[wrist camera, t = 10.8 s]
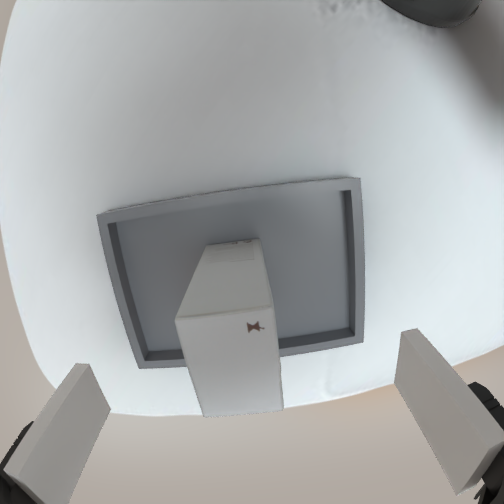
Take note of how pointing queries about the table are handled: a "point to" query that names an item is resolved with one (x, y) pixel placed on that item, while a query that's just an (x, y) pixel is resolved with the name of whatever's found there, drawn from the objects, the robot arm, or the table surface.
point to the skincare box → (231, 332)
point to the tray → (274, 252)
